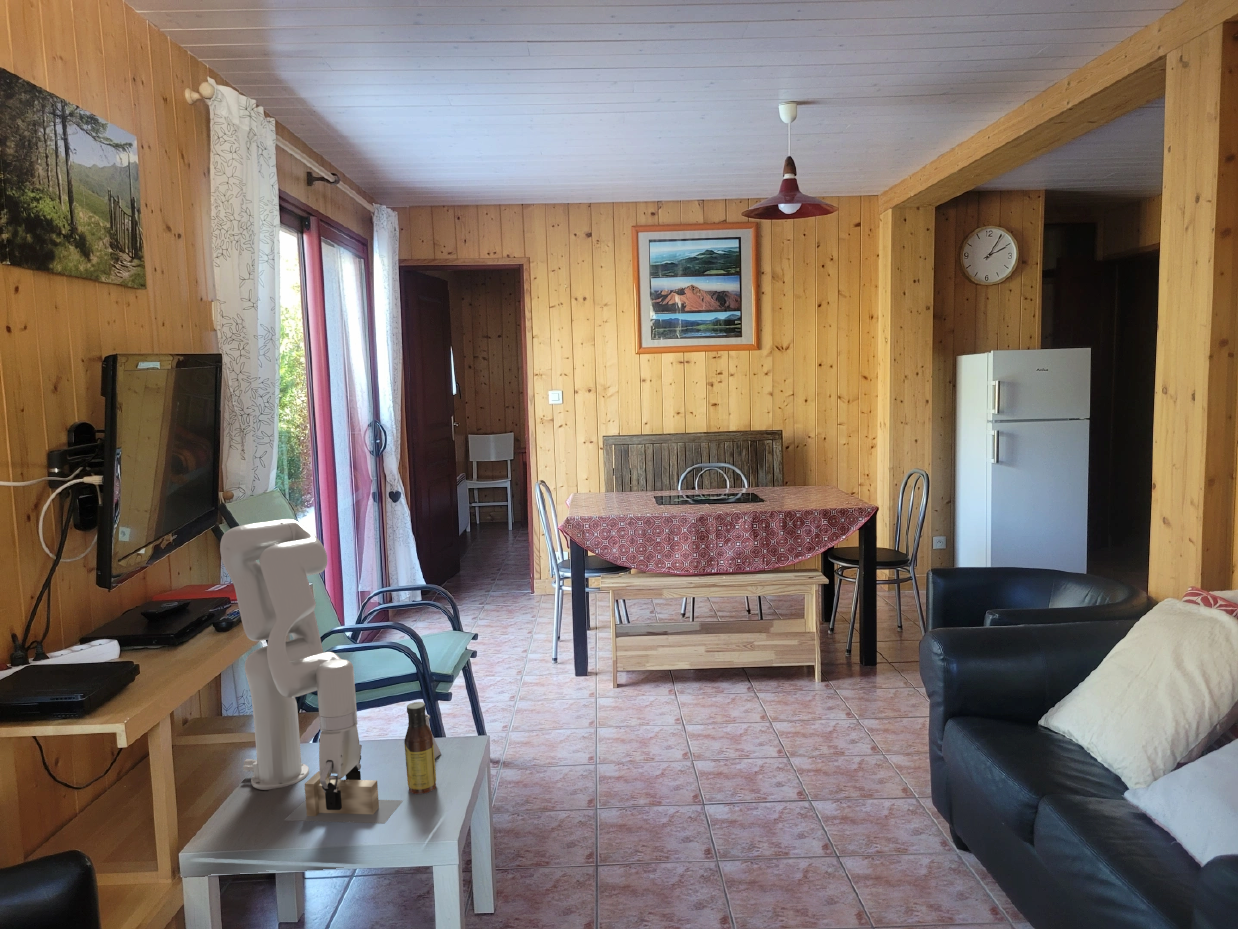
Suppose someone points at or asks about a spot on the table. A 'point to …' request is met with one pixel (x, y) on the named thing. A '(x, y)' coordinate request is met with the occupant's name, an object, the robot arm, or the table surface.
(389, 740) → the table surface
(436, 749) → the flask
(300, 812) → the mat
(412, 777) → the sauce bottle
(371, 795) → the beige t-shaped block
